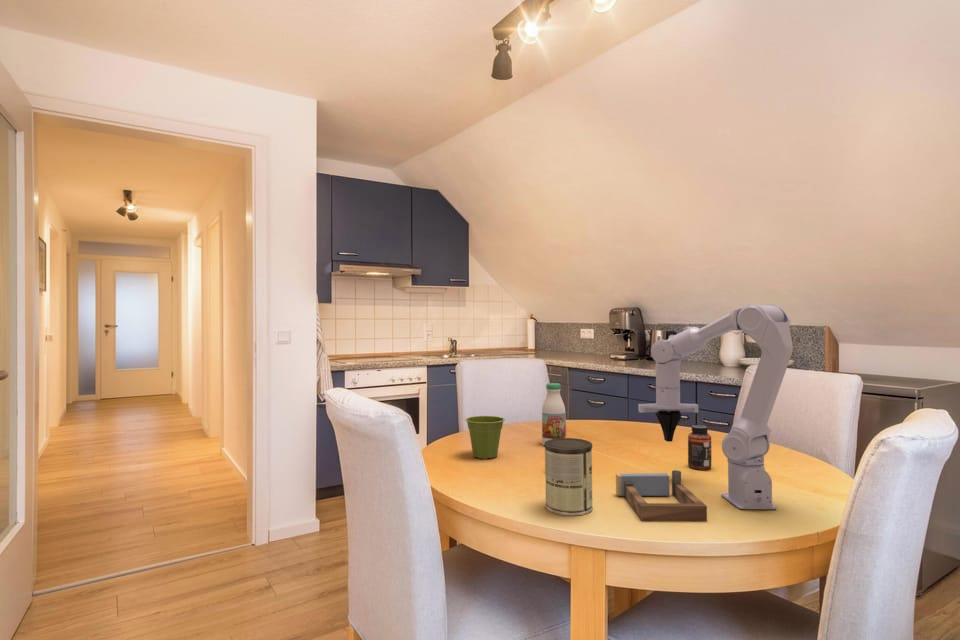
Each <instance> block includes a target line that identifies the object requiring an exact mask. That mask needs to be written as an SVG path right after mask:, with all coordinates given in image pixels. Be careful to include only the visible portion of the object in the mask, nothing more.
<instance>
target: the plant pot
mask: <svg viewBox="0 0 960 640" xmlns="http://www.w3.org/2000/svg"><path fill="white" fill-rule="evenodd" d="M464 420H465V421H466V423H467V428H468V431H469V438H470V443H471V444H470V445H471V450H472V455H473V457H474V458H478V459H480V458H484V459H483V460H487V459H486V458H490V459H492V458H497V457H496V456H498V454H499V453H498V452H499V446H500V440H501V433H502V429H503V424H504V422H505V420H506V418H504V417H500V416H496V415H495V416H494V415H475V416H469V417H466V418H465V419H464Z"/></svg>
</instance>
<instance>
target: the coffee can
mask: <svg viewBox="0 0 960 640" xmlns="http://www.w3.org/2000/svg"><path fill="white" fill-rule="evenodd" d="M544 444H545V446H544V457H545V458H544V460H545V461H544V462H545V463H544V464H545V465H544V466H545V467H544V469H545V471H544V473H545V508H546V510H547V511H548V512H550V513H553V514H556V515H561V516H567V517H568V516H569V517H572V516H573V517H575V516H576V517H577V516H584V515H587V514H589V513H591V512H592V511H593V508H594V507H593V456H592V455H593V452H592V450H593V442H591V441H589V440H585V439H581V438H573V437H572V438H571V437H566V438H557V439H551V440H548V441H546V442H545V443H544Z"/></svg>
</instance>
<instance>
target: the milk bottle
mask: <svg viewBox="0 0 960 640" xmlns="http://www.w3.org/2000/svg"><path fill="white" fill-rule="evenodd" d="M545 386H546V396H545V398H544V401H543V404H542V407H541V444H542V446H544V445H545V444H544V443H545V442H546V441H548V440H551V439H557V438H567V427H566V425H567V419H566V418H567V417H566V415H567V413H566V406H565V404H564V401H563V399H562V396H561V387H562V386H561V383H558V382H549V383H546V385H545Z"/></svg>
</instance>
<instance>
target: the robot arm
mask: <svg viewBox="0 0 960 640" xmlns="http://www.w3.org/2000/svg"><path fill="white" fill-rule="evenodd" d="M791 320H792V319H791V318H790V316H789V315H788V314H787V313H786V311H785V310H784V308H782V307H781V306H780V305H776V304H767V305H766V304H765V305H764V304H760V305H759V304H754V303H751V304H747V305H744V306H743V307H740V308H735V309H734V310H732V311H730V312H729V313H727V314H724V315H723V316H722V317H721V316H720V318H717V319H715V320H713V321H712V322H710V323H708V324H706V325H705V326H703V327H701V328H699V327H697V326H685V327H683V331H681V332H678V333H677V334H670V335H669V336H668V339H658V340H657V341H655V342H653V344H652V346H651V348H650V353H651V357H652V359H653V360H654V361H655V402H654V403H653V402H652V403H638V404H637V405H638V407H637V408H638V412H639V413H641V414H642V413H643V414H644V413H655V416H656V419H657V420H658V422H659V425H660V426H661V430H662V435H663V439H664V441H665V442H668V443H669V442H671V443H672V442H673V439H674V435H675V433H676V429H677V427H678V424H679V422H680V420H681V419H682V414H681V413H695V414H696V413H697V414H698V413H699V404H697V403H683V402H682V403H681V382H680V381H681V380H680V379H681V366H682V365H681V363H682V360H683V359H684V357H686V356H689V355H691V354H693V353H696V352H699V351H701V350H703V349H705V348H706V346H707V343H708V341H711V340H712V339H715V338H718V337H720V336H723V335H725V334H727V333H730V332H732V331H736V330H737V331H740V330H741V331H743V333H745V334H746V336H748V337H749V338H750V339H752V340H753V341H755V342H756V345H758V348H759V349H760V350H761V355H760V358H759V360H758V364H757V367H756V369H755V373H754V375H753V378H752V382H751V384H750V388H749V391H748V393H747V396H746V400H745V403H744V406H743V408H742V411H741V414H740V417H739V418H738V419H737V420H736V422H735V423H734V424H733V425H732V426H731V428H730V431H729V432H728V434H726V435H725V436H724V438H723V439H722V441H721V450H722V453H723V454H724V457H726V458H727V481H728V482H727V484H728V485H727V486H728V487H727V490H728V492H721V493H720V495H721V496H722V497H723V498H725V499H726V500H727V501H728V502H730V503H731V504H732V505H733V506H735V508H737V509H739V510H777V506H775V505H774V504H773V483H772V478H771V476H770V474H769V473H768V472H767V470H766V469H765V455H767V454H768V452H769V450H770V434H771V428H770V427H769V426H768V423H769V419H770V416H771V414H772V411H773V408H774V405H775V403H776V400H777V396H778V394H779V391H780V389H781V386H782V383H783V380H784V376H785V374H786V371H787V369H788V366H789V363H790V360H791V357H792V355H793V350H794V345H793V340H792V334H791V329H790V324H791Z"/></svg>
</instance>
